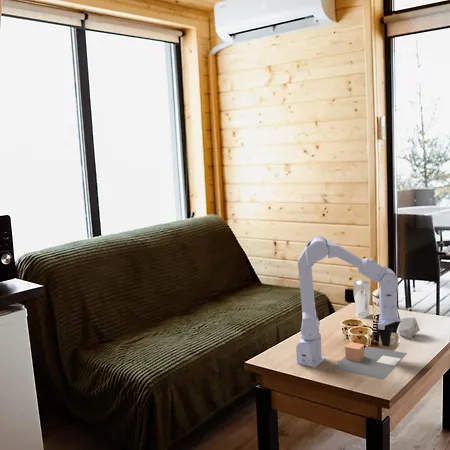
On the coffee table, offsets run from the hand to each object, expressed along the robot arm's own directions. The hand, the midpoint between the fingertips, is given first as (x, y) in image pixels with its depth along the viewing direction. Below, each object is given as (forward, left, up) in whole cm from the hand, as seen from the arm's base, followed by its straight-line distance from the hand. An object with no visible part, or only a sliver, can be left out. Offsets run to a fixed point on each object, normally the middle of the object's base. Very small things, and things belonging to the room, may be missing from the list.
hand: (388, 343), depth 191 cm
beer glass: (+42, +26, -7) cm, 50 cm away
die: (+27, +2, -7) cm, 28 cm away
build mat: (-3, +6, -7) cm, 9 cm away
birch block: (0, 0, -1) cm, 1 cm away
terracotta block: (-3, +11, -6) cm, 13 cm away
